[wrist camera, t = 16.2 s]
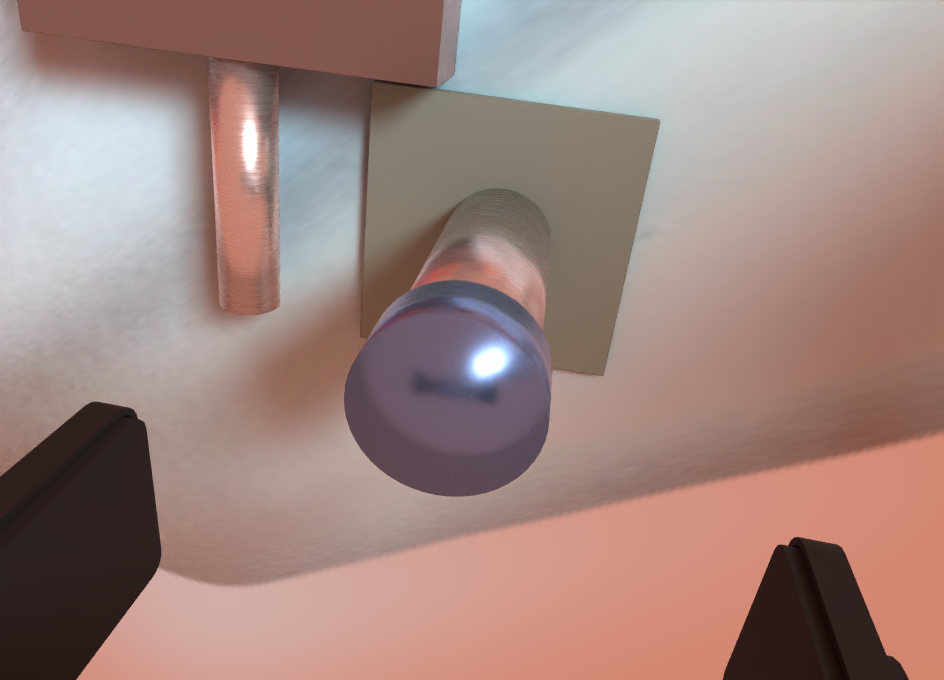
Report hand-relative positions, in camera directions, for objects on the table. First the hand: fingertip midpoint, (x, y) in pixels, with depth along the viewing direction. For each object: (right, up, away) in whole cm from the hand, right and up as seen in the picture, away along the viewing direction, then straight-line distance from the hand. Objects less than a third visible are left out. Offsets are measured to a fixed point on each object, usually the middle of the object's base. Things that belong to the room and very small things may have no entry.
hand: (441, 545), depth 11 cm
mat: (+1, +7, +14) cm, 16 cm away
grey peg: (+1, +6, +14) cm, 15 cm away
